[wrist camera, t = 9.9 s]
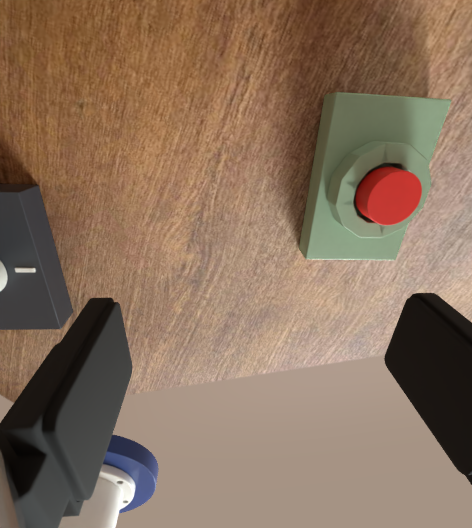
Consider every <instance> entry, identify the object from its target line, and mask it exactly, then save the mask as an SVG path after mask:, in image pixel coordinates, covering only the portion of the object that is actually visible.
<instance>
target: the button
mask: <svg viewBox="0 0 472 528" xmlns="http://www.w3.org/2000/svg"><path fill="white" fill-rule="evenodd" d="M421 195H422V186H421V183H420V180H419V179H418V177H417V176H416V175H415V174H413V173H411V172H409V171H405V170H401V169H398V168H394V167H381V168H378V169H375V170H374V171H372V172H370V173H369V174H368V175H367V176H366V177H365V178H364V179H363V180H362V181H361V183H360V184H359V186H358V189H357V192H356V205H357V208H358V210H359V211H360V212H361V213H362V214H363V215H364V216H366V217H368V218H369V219H371V220H372V221H374V222H376V223H377V224H380V225H394V224H397V223H399V222H401V221H403V220H405V219H406V218H408V217H409V216H410V215H411V214H412V213H413V212H414V210H415V209H416V208H417V206H418V204H419V202H420V199H421Z"/></svg>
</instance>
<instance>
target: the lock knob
mask: <svg viewBox="0 0 472 528" xmlns="http://www.w3.org/2000/svg"><path fill="white" fill-rule="evenodd" d="M6 283H7V272H6V269H5V267H4V265H3V263H2V262H1V261H0V291H2V290H3V289H4V287H5V286H6Z"/></svg>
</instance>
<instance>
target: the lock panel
mask: <svg viewBox="0 0 472 528" xmlns="http://www.w3.org/2000/svg"><path fill="white" fill-rule="evenodd" d="M0 261H1V262H2V263H3V265H4V267H5V269H6V272H7V283H6V286H5V287H4V289H3V290H2V291H0V330H17V329H61V328H62V327H63V325H64V324H65V323H66V321H67V320H68V318H69V317H70V316H71V314H72V313H73V309H72V306H71V302H70V298H69V295H68V291H67V287H66V284H65V280H64V276H63V273H62V269H61V266H60V262H59V258H58V255H57V251H56V247H55V244H54V240H53V236H52V233H51V229H50V226H49V222H48V218H47V215H46V211H45V207H44V204H43V200H42V196H41V193H40V189H39V186H38V185H29V184H0Z"/></svg>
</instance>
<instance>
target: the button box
mask: <svg viewBox="0 0 472 528" xmlns="http://www.w3.org/2000/svg"><path fill="white" fill-rule="evenodd" d="M450 103H451V100H450V99H436V98H421V97H406V96H391V95H376V94H360V93H345V92H335V93H330V94H326V95H325V96H324V102H323V107H322V113H321V119H320V125H319V131H318V137H317V143H316V149H315V155H314V161H313V167H312V173H311V179H310V185H309V191H308V197H307V203H306V209H305V215H304V221H303V227H302V232H301V238H300V244H299V250H300V251H301V253H302V254H303V256H304V257H305V259H336V260H396V257H397V254H398V251H399V249H400V246H401V243H402V240H403V237H404V234H405V231H406V229H407V226H408V223H409V222H410V221H411V220H412V219H413V218H414V217H415V216H416V215H417V214H418V212H419V211H420V210H421V209H422V208H423V206H424V203H425V200H426V198H427V195H428V192H429V189H430V187H431V177H430V171H429V163H430V160H431V157H432V155H433V152H434V149H435V146H436V143H437V140H438V138H439V135H440V132H441V129H442V126H443V123H444V121H445V118H446V115H447V112H448V109H449V106H450ZM381 167H394V168H398V169H401V170H405V171H409V172H411V173H413V174H415V175H416V176H417V177H418V179H419V180H420V183H421V186H422V195H421V199H420V202H419V204H418V206H417V208H416V209H415V210H414V212H413V213H412V214H411V215H410V216H409V217H408V218H406V219H405V220H403V221H401V222H399V223H397V224H394V225H380V224H377V223H376V222H374V221H372V220H371V219H369V218H368V217H366V216H364V215H363V214H362V213H361V212H360V211H359V210H358V208H357V205H356V192H357V189H358V186H359V184H360V183H361V181H362V180H363V179H364V178H365V177H366V176H367V175H368V174H369V173H370V172H372V171H374V170H375V169H378V168H381Z"/></svg>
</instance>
